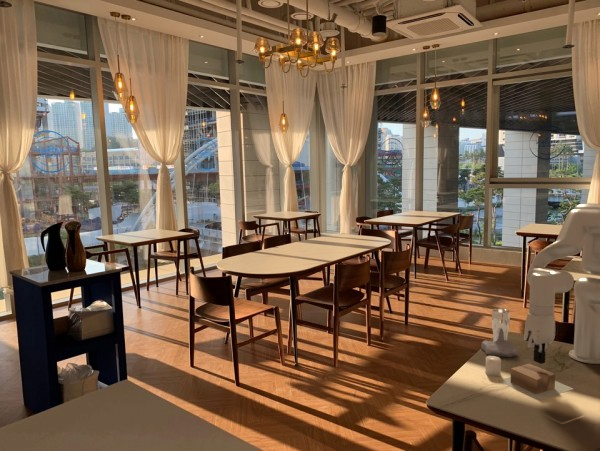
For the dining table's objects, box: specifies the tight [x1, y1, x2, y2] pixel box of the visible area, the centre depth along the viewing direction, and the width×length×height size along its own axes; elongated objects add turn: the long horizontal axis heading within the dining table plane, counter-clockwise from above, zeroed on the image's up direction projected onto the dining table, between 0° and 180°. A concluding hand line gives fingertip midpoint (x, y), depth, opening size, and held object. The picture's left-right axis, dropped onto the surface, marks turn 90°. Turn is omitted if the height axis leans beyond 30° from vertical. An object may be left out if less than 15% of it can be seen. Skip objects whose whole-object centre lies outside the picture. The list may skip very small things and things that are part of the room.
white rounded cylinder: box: [484, 355, 502, 377], centre depth 169 cm, size 5×5×6 cm
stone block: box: [480, 339, 517, 358], centre depth 190 cm, size 12×5×10 cm
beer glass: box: [491, 308, 511, 342], centre depth 196 cm, size 7×7×15 cm
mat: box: [497, 376, 574, 401], centre depth 160 cm, size 17×16×1 cm
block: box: [510, 363, 556, 394], centre depth 159 cm, size 5×10×9 cm
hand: (539, 361), depth 160 cm, fingers closed
